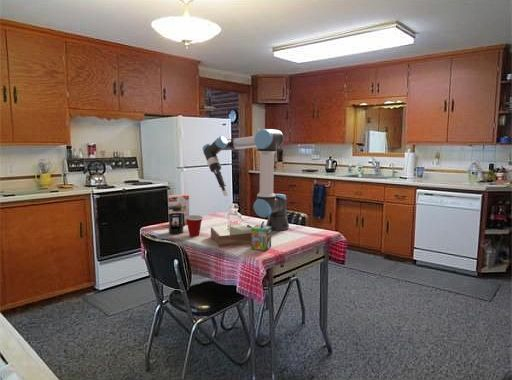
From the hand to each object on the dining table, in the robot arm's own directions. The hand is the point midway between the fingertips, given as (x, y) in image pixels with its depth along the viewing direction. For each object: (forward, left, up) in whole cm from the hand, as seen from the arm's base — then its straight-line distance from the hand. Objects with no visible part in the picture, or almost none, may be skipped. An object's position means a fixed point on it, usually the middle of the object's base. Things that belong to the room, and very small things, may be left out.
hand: (226, 195), depth 240 cm
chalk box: (-23, +44, -23) cm, 55 cm away
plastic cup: (+18, +17, -23) cm, 34 cm away
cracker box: (+34, -13, -23) cm, 43 cm away
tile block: (-11, +29, -23) cm, 38 cm away
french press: (+31, +9, -23) cm, 40 cm away
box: (-7, +28, -23) cm, 37 cm away
